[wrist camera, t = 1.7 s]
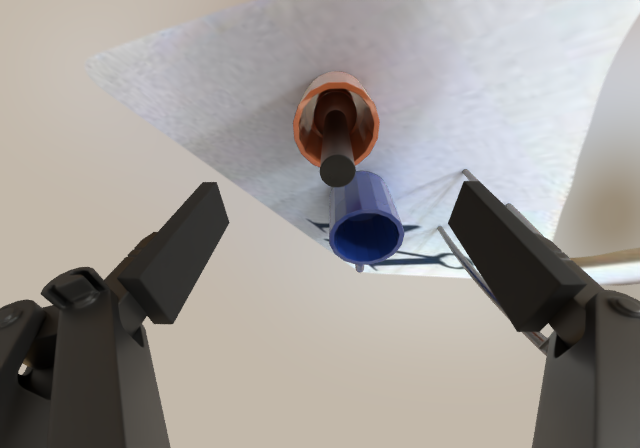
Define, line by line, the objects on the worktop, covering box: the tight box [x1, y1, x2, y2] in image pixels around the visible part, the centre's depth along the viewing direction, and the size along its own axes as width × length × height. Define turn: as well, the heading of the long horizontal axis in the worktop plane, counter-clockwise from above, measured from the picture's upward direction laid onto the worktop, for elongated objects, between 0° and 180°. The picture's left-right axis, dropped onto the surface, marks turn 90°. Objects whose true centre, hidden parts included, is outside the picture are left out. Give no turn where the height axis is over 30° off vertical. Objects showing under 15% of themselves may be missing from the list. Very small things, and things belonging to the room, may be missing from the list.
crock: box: [293, 71, 380, 167], centre depth 27 cm, size 8×8×9 cm
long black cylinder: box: [314, 91, 357, 188], centre depth 23 cm, size 5×5×17 cm
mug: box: [329, 171, 404, 272], centre depth 35 cm, size 13×9×10 cm
